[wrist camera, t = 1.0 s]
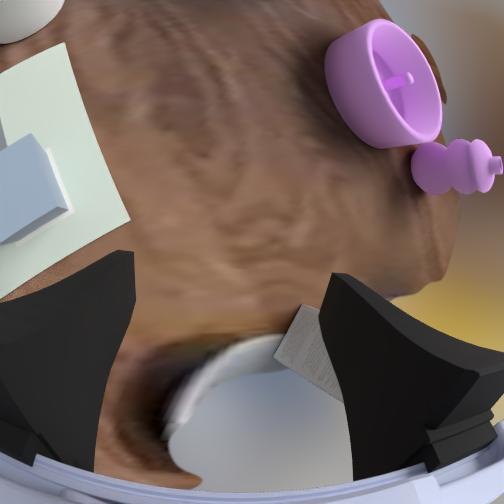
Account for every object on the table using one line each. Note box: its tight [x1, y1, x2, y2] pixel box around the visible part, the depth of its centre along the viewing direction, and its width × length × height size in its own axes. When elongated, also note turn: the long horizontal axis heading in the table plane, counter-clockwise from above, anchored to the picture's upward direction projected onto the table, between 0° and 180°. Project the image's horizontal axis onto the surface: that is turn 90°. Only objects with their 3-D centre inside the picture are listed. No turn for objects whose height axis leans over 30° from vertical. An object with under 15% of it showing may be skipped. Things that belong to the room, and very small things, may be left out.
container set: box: [324, 19, 503, 195], centre depth 27 cm, size 25×15×13 cm, turn 50°
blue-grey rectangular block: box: [0, 133, 69, 246], centre depth 14 cm, size 4×4×6 cm
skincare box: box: [273, 304, 344, 403], centre depth 24 cm, size 6×4×12 cm
